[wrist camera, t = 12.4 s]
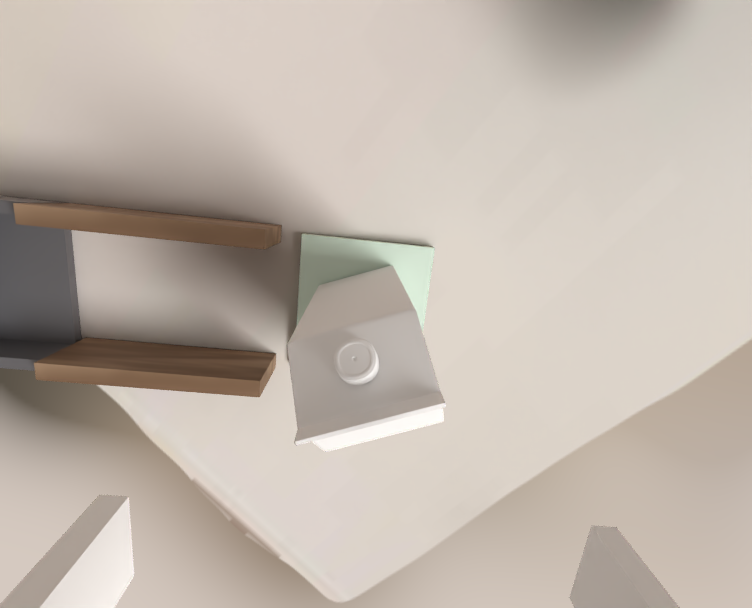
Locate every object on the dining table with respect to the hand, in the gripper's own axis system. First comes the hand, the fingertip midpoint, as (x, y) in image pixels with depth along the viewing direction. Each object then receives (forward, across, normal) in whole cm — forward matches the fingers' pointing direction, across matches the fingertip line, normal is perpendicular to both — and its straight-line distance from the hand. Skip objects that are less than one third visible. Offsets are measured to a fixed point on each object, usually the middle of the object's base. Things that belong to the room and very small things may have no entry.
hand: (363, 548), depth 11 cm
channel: (+26, -17, 0) cm, 31 cm away
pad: (+26, 0, 0) cm, 26 cm away
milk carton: (+26, 0, 0) cm, 26 cm away
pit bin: (+26, -31, 0) cm, 40 cm away
